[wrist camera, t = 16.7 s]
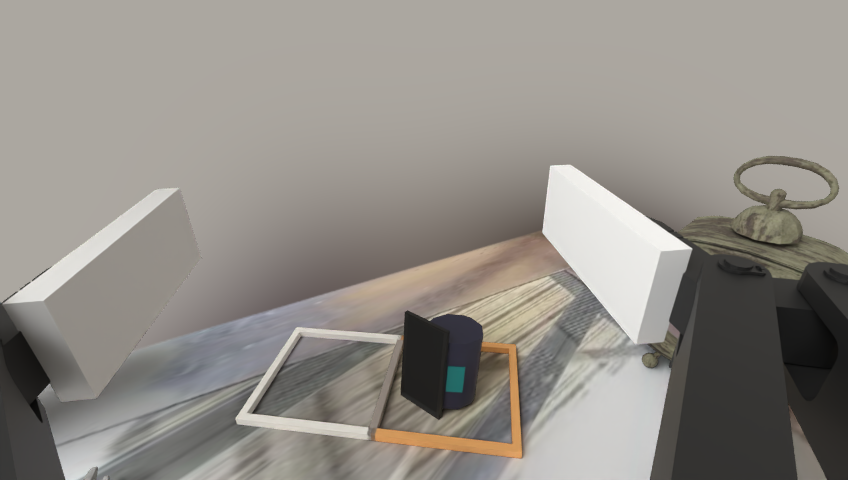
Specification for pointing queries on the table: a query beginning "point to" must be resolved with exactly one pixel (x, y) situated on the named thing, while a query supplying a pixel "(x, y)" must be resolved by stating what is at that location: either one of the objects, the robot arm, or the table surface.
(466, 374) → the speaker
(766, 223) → the tabletop clock
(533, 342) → the table surface
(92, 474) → the combination wrench
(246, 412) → the rectangular frame
